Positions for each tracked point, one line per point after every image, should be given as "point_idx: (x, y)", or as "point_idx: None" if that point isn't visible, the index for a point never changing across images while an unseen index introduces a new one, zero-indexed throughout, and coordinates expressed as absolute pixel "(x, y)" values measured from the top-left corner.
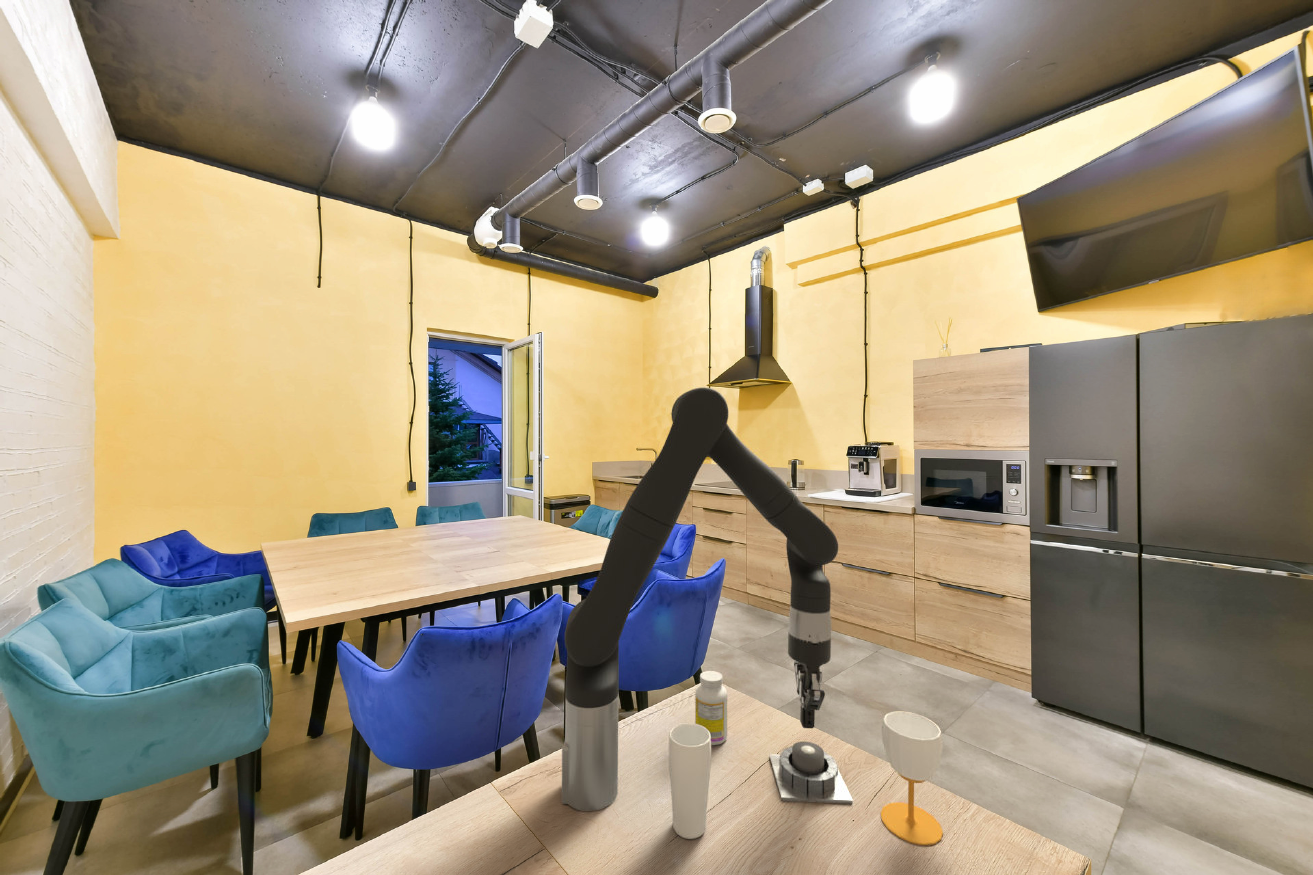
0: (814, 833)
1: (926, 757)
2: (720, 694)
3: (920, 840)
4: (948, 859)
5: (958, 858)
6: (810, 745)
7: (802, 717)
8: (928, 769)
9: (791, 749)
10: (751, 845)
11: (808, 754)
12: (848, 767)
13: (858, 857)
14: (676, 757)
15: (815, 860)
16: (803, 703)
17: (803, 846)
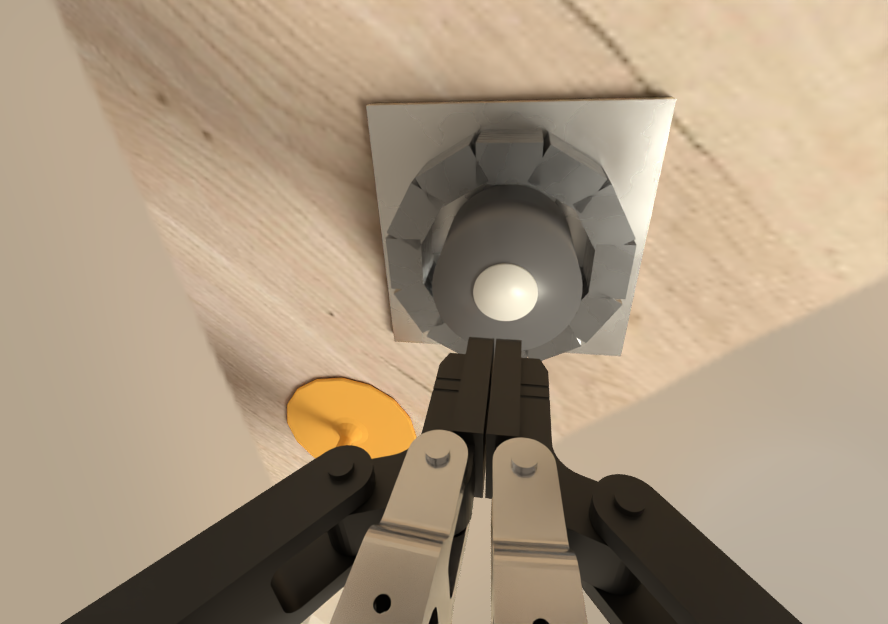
0: (245, 189)
1: None
2: None
3: (295, 422)
4: (266, 442)
5: (275, 457)
6: (545, 312)
7: (463, 374)
8: None
9: (603, 217)
10: None
11: (470, 285)
12: (568, 381)
13: (202, 281)
14: None
15: (142, 164)
16: (402, 470)
17: (179, 139)
